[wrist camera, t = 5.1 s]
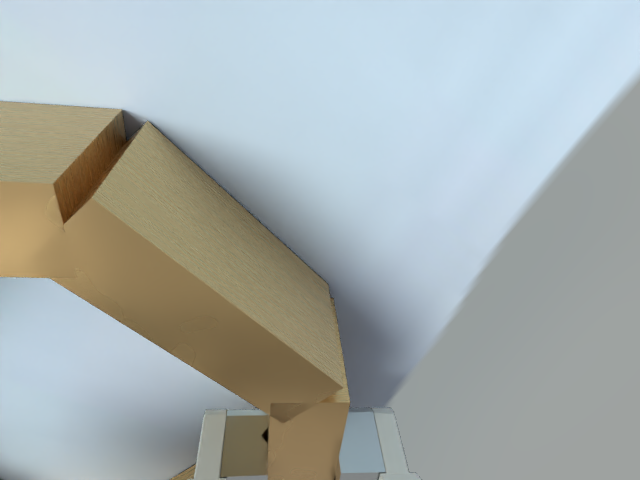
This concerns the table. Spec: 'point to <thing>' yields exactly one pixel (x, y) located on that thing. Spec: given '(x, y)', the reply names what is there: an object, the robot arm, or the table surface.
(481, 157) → the table surface
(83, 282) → the wooden ring
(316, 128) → the table surface
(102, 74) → the table surface
